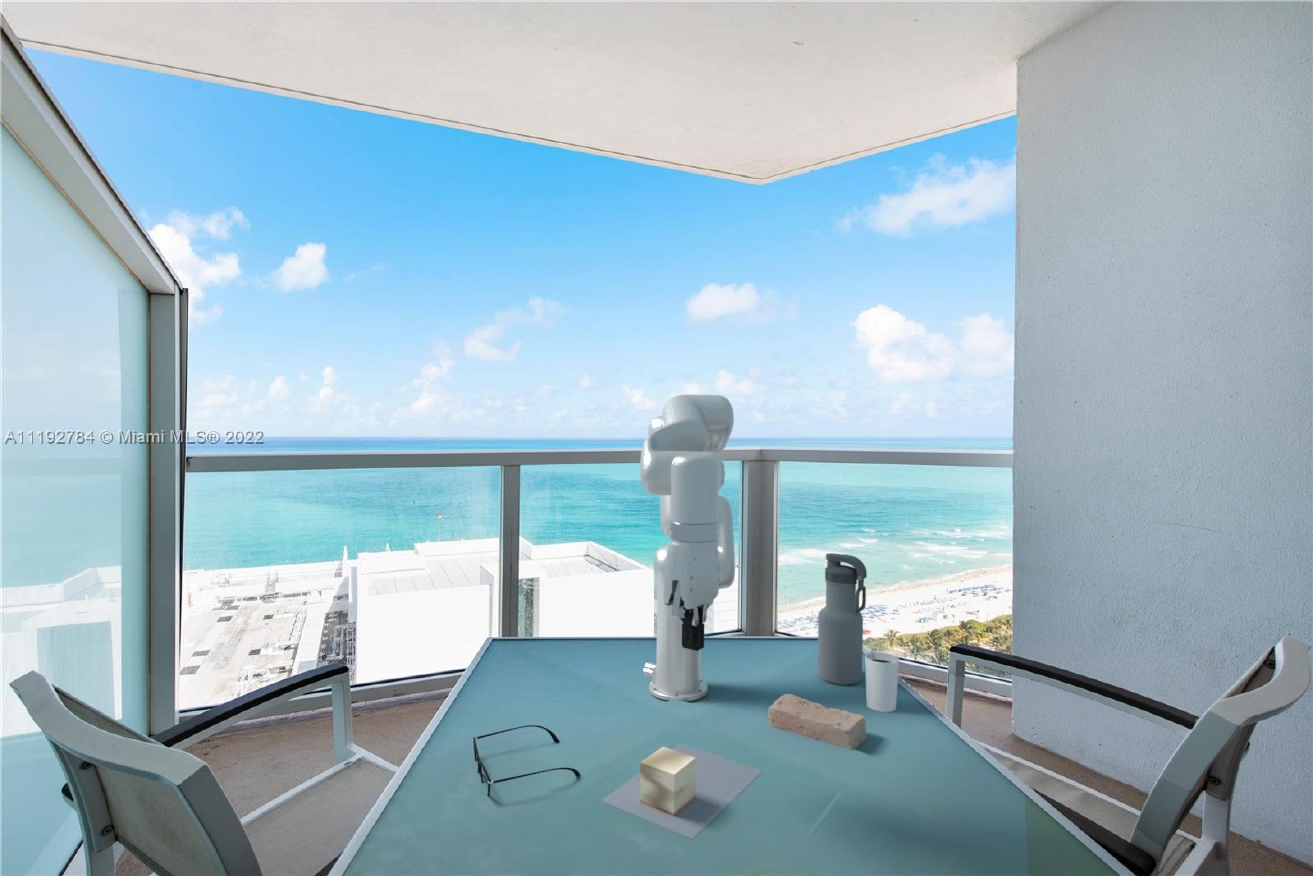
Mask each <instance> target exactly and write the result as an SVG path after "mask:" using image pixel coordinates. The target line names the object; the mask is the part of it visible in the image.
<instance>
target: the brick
mask: <svg viewBox="0 0 1313 876" xmlns="http://www.w3.org/2000/svg"><path fill="white" fill-rule="evenodd" d="M767 720H768V727H772V728H775V729H779V730H784V731H786V732H788V733H789V732H790V733H791V734H792V733H793V734H795V735H800V736H803V737H806V738H808V739H813V740H817V741H820V742H823V743H828V744H830V745H832V746H833V745H834V746H837V747H839V748H844V749H847V750H853V751H855V750H857V748H858V746H860V745H861V744H862V743H863V742H864V741H865V740H866V738H867V729H866V727H867V725H866V718H865V716H863V715H861V714H858V713H857V714H855V713H852V712H850V711H848V710H842V709H839V708H833V707H827V706H824V705H822V704H820V703H819V702H812V701H810V700H808V699H806V698H802V697H800V696H797V695H795V694H791V693H785V694H783V695H781V696H780V697H779V698H777V699H776V700H775V701H774V702H773V704H771V705H769V707H768V710H767Z"/></svg>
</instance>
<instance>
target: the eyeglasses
mask: <svg viewBox="0 0 1313 876" xmlns="http://www.w3.org/2000/svg"><path fill="white" fill-rule="evenodd" d="M527 727H529V728H530V727H535V728H539V729H542V730H544V731H546V732H547V733H548V734H549V735H550V737H551V738H552V740H553V742H554V743H558V744H559V743H561V740H559V738H558V737H557V735H556V734H555V733H554V732H553V731H552V730H550V729H549V728H547V727H544V726H542V725H538V724H537V725H535V724H534V725H533V724H531V725H530V724H529V725H522V726H517V727H514V728H513V727H512V728H509V729H505V730H504V729H503V730H501V731H497V732H492V733H488V734H484V735H480V736H476V737H475V736H473V737H472V743H473V754H474V762H477V772H478V773H479V776H480V781H481V784H484V778H483V777H484V776H483V775H484V774H485V776H486V781H487V794H486V795H487V797H490V795H491V785H494V784H498V783H502V782H507V781H510V780H511V781H512V780H514V779H515V780H516V779H521V778H523V777H528V776H532V775H536V774H537V775H538V774H541V773H545V772H551V771H559V770H566V771H567V770H568V771H570V772H572V773H573V774H574V775H575V777H579V776H580V775H581V773H580V772H579V770H577V769H575V768H571V767H557V768H551V769H545V770H540V771H535V772H531V773H526V774H522V775H516V776H511V777H507V778H500V779H497V780H491V778H490V775H489V773H488V770H487V768H486V767H485V765H484V763H483V762H482V761H481V760H480V754H479V750H478V746H477V741H476V740H479V739H484V738H487V737H491V736H494V735H498V734H501V733H502V734H503V733H507V732H510V731H514V730H518V729H523V728H527Z"/></svg>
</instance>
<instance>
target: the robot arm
mask: <svg viewBox="0 0 1313 876" xmlns="http://www.w3.org/2000/svg"><path fill="white" fill-rule="evenodd" d="M734 420H735V415H734V408H733V406H732V404H731V402H730V401H729V399H728V398H727V397H725V396H723V395H720V394H679V395H675V396H673V397H670V398H669V399H668V400H667V401H666V402H665V403H664V406H663V408H662V413H661V415H657V416H655V417H653V418H652V419H651V420H650V422H649V424H648V430H647V431H648V434H647V435H648V437H647V438H646V439H645V440H644V442H643V444H642V448H641V452H640V461H639V462H640V464H639V465H640V466H639V467H640V468H639V469H640V470H639V472H640V477H639V478H640V482H641V485H642V488H643V489H644V491H645V492H646V493H647V494H650V495H653V496H659V521H660V528H661V531H662V533H663V534H664V535H665V536H666V537H669V538H670V539H669V540H670V542H669V543H668V544H664V545H662V546H660V547H659V548H657V549H656V551H655V553H654V555H653V561H652V562H653V564H652V566H653V572H654V582H655V590H656V591H655V592H656V663H652V662H650V661H647V662H646V663H645V665H644V668H643V670H642V674H643V675H646V676H651V681H650V682H649V683H648V691H649V693H650V694H651V695H652V696H654V697H655V698H657V699H660V700H662V701H663V700H664V701H668V702H669V701H670V700H671V701H672V700H673V701H682V702H691V701H695V700H697V701H698V700H699V699H701V698H703V697H704V696H705V695H707V693H708V684H707V683H706V681H704V680H703V679H701V656H702V654H701V652H702V649H704V648H705V623H706V621H707V616H708V615H707V612H708V609H709V608H710V607H711V606H712V605H713V603H714V600H715V599H716V598H717V596H718V595H719V590H722V589H723V590H724V589H727V588H730V587H731V586H732V585H733V583H734V582H735V576H736V560H735V559H736V558H735V539H734V517H733V511H732V506H731V504H730V502H729V500H728V499H727V497H724V496H722V495H719V491H720V489H721V487H723V486H724V483H725V476H726V470H725V464H724V462H723V461H722V460H721V458H720V456H719V455H718V454H716V453H720V452H722V451H723V450H725V448H726V446H727V444H728V441H729V439H730V437H731V434H732V432H733V427H734V423H735V421H734Z"/></svg>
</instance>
